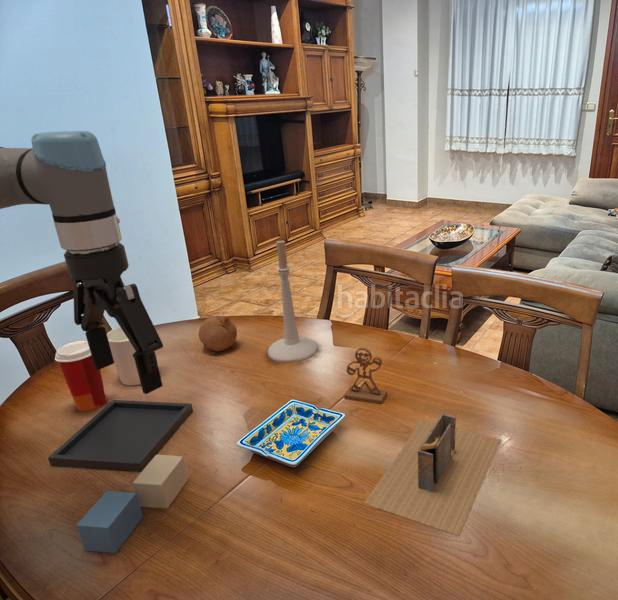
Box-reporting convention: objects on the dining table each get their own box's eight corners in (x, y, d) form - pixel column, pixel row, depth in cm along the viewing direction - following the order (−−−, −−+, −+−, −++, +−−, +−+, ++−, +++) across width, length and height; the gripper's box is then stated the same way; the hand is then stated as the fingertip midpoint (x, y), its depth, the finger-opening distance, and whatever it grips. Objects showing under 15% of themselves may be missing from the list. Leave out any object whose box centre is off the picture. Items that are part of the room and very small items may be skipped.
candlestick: (271, 341, 139) (256, 234, 128) (318, 337, 141) (308, 231, 129) (264, 364, 128) (248, 248, 116) (316, 360, 129) (305, 245, 117)
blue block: (84, 550, 76) (75, 525, 74) (114, 514, 83) (106, 490, 81) (115, 553, 76) (107, 527, 74) (143, 517, 82) (136, 492, 80)
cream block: (138, 506, 84) (132, 482, 82) (162, 477, 91) (156, 454, 89) (167, 508, 84) (161, 484, 82) (188, 478, 90) (183, 456, 88)
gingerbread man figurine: (343, 398, 113) (340, 350, 108) (350, 389, 116) (347, 341, 111) (382, 404, 110) (379, 354, 106) (387, 394, 114) (385, 346, 109)
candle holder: (150, 387, 119) (139, 341, 114) (109, 387, 119) (96, 341, 114) (169, 366, 128) (159, 322, 123) (130, 366, 128) (119, 323, 123)
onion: (236, 356, 138) (248, 327, 134) (204, 361, 131) (215, 330, 127) (220, 335, 143) (231, 306, 139) (188, 338, 136) (198, 307, 132)
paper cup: (105, 390, 118) (89, 336, 112) (116, 403, 113) (100, 347, 107) (66, 404, 113) (48, 348, 107) (76, 418, 108) (57, 360, 102)
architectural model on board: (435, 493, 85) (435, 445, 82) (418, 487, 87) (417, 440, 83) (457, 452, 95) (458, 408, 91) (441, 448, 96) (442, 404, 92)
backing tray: (50, 465, 94) (47, 457, 93) (115, 406, 112) (113, 399, 111) (141, 471, 92) (139, 463, 91) (193, 410, 109) (191, 403, 109)
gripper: (170, 252, 68) (198, 388, 76) (77, 230, 81) (109, 348, 89) (115, 267, 63) (151, 413, 71) (24, 241, 76) (63, 366, 84)
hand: (128, 377), depth 80 cm, fingers open, 13 cm apart
